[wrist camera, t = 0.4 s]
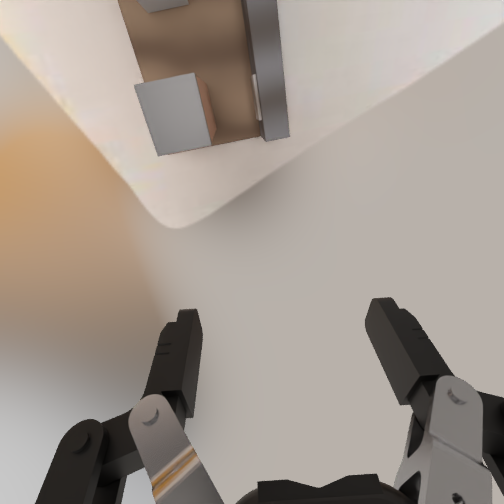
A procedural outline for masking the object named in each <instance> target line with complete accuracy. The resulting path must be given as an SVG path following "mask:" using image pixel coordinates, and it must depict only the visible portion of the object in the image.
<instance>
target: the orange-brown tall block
mask: <svg viewBox="0 0 504 504" xmlns="http://www.w3.org/2000/svg"><path fill="white" fill-rule="evenodd" d="M134 88H135V90H136V93H137V96H138V99H139V102H140V105H141V108H142V111H143V114H144V117H145V120H146V123H147V126H148V128H149V131H150V134H151V137H152V140H153V143H154V146H155V149H156V152H157V155H158V156H162V155H167V154H172V153H177V152H182V151H187V150H192V149H197V148H201V147H206V146H211V145H212V140H213V137H214V134H215V132H216V129H217V128H216V124H215V119H214V115H213V110H212V106H211V101H210V97H209V92H208V88H207V84H206V83H205V82H204V81H202V80H201V79H200V78H199V77H197V76H196V74H195V73H189V74H184V75H179V76H175V77H170V78H165V79H160V80H155V81H150V82H146V83H141V84H136V85H134Z"/></svg>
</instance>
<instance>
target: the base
mask: <svg viewBox="0 0 504 504" xmlns="http://www.w3.org/2000/svg"><path fill="white" fill-rule="evenodd" d="M118 3H119V6H120V9H121V12H122V15H123V18H124V22H125V25H126V28H127V31H128V34H129V37H130V40H131V43H132V46H133V49H134V52H135V56H136V59H137V62H138V65H139V68H140V71H141V74H142V77H143V80H144V83H146V82H150V81H155V80H160V79H165V78H170V77H175V76H179V75H184V74H189V73H195V74H196V76H197V77H199V78H200V79H201V80H202V81H204V82H205V83H206V84H207V88H208V92H209V97H210V101H211V106H212V110H213V115H214V119H215V124H216V128H217V129H216V132H215V134H214V137H213V140H212V145H211V146H214V145H219V144H224V143H229V142H234V141H238V140H243V139H248V138H253V137H258V136H261V137H262V138H263V139H264V140H265V141H266V142H267V141H272V140H277V139H282V138H287V137H290V134H289V124H288V113H287V103H286V93H285V82H284V72H283V61H282V51H281V41H280V30H279V20H278V9H277V0H188V3H189V5H184V6H179V7H174V8H170V9H165V10H160V11H156V12H151V13H148V12H147V11H146V10H145V9H144V8H143V7H142V6H141V5H140V4H139V3H138V1H137V0H118ZM206 147H209V146H206ZM201 148H204V147H201ZM197 149H199V148H197ZM192 150H194V149H192ZM187 151H189V150H187ZM182 152H184V151H182ZM177 153H179V152H177ZM172 154H174V153H172ZM168 155H169V154H168Z"/></svg>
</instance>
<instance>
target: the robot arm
mask: <svg viewBox="0 0 504 504" xmlns="http://www.w3.org/2000/svg"><path fill="white" fill-rule="evenodd" d="M365 328H366V332H367V334H368V336H369V338H370V341H371V343H372V345H373V347H374V349H375V351H376V354H377V356H378V358H379V360H380V362H381V365H382V367H383V369H384V371H385V373H386V376H387V378H388V380H389V382H390V384H391V387H392V389H393V391H394V393H395V395H396V397H397V400H398V402H399V404H400V405H411V407H412V409H413V411H414V412H413V413H412V417H411V422H410V426H409V431H408V437H407V442H406V446H405V451H404V456H403V460H402V463H401V465H400V467H399V470H398V472H397V475H396V479H395V482H394V487H391V486H390V485H387V484H385V483H382V482H379V478H378V475H377V474H364V475H349V476H346V477H344V478H342V479H339V480H337V481H334V482H332V483H330V484H328V485H326V486H323V487H321V488H316V487H312V486H309V485H305V484H301V483H298V482H294V481H290V480H274V481H260V482H258V488H257V489H255V490H253V491H251V492H249V493H248V494H246V495H245V496H244V497H242V498H241V499H240V500H239V501H238V502H237V503H236V504H492V477H491V474H492V476H493V477H494V479H495V481H496V483H497V485H498V487H499V488H500V490H501V492H502V494H503V496H504V398H503V397H499V396H495V395H490V394H486V393H482V392H479V391H476V390H475V389H474V388H473V387H472V386H471V385H470V384H468V383H467V382H465V381H464V380H462V379H460V378H457V377H455V376H454V375H453V373H452V372H451V370H450V369H449V368H448V366H447V364H446V363H445V362H444V360H443V358H442V357H441V355H440V354H439V352H438V351H437V349H436V348H435V346H434V345H433V343H432V342H431V340H430V339H428V336H427V334H426V333H425V331H424V330H422V327H421V325H420V324H419V322H418V321H417V319H416V318H415V317H414V316H413V315H412V314H411V313H409V312H408V311H407V310H406V309H399V307H398V306H397V304H396V303H395V301H394V300H393V299H392V298H389V297H388V298H374V299H372V301H371V304H370V307H369V310H368V313H367V316H366V319H365ZM202 338H203V333H202V327H201V323H200V319H199V315H198V311H197V309H183V310H179V313H178V317H177V321H176V322H168V323H167V325H166V326H165V327H164V329H163V330H162V332H161V333H160V337H159V341H158V346H157V348H156V352H155V356H154V359H153V363H152V366H151V370H150V374H149V377H148V381H147V385H146V388H145V391H144V394H143V396H142V398H141V399H140V401H139V402H138V403H137V404H136V405H135V406H134V407H133V408H132V409H131V410H129V411H128V412H126V413H124V414H122V415H120V416H117V417H115V418H112V419H110V420H108V421H105V422H102V423H100V422H98V421H97V420H94V419H87V420H84V421H81V422H79V423H77V424H76V425H75V426H73V427H72V428H71V429H70V430H69V431H68V432H67V433H66V434H65V435H64V437H63V438H62V440H61V441H60V443H59V445H58V448H57V450H56V453H55V455H54V458H53V461H52V463H51V466H50V468H49V470H48V473H47V475H46V478H45V480H44V483H43V485H42V488H41V490H40V493H39V495H38V498H37V500H36V503H35V504H121V502H122V497H123V492H124V488H125V483H126V478H127V475H129V474H131V473H133V472H135V471H137V470H140V469H142V468H144V467H145V469H146V471H147V474H148V476H149V478H150V481H151V484H152V492H153V497H154V499H155V502H156V504H224V502H223V501H222V499H221V497H220V495H219V493H218V492H217V490H216V488H215V486H214V484H213V482H212V481H211V479H210V477H209V475H208V473H207V472H206V470H205V468H204V466H203V464H202V463H201V461H200V459H199V457H198V455H197V453H196V452H195V450H194V448H193V446H192V445H191V443H190V441H189V439H188V437H187V436H186V434H185V432H184V427H185V420H186V418H193V416H194V408H195V399H196V391H197V383H198V375H199V366H200V357H201V350H202V340H203V339H202ZM482 457H483V459H484V461H485V463H486V465H487V467H488V468H489V469H488V468H487V467H486V466H484V464H483V462H482ZM490 472H491V473H490Z"/></svg>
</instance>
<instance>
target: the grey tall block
mask: <svg viewBox="0 0 504 504" xmlns="http://www.w3.org/2000/svg"><path fill="white" fill-rule="evenodd" d="M137 1H138V3H139V4H140V5H141V6H142V7H143V8H144V9H145V10H146V11H147V12H148V13H151V12H156V11H160V10H165V9H170V8H174V7H179V6H184V5H189V3H188V0H137Z"/></svg>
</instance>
